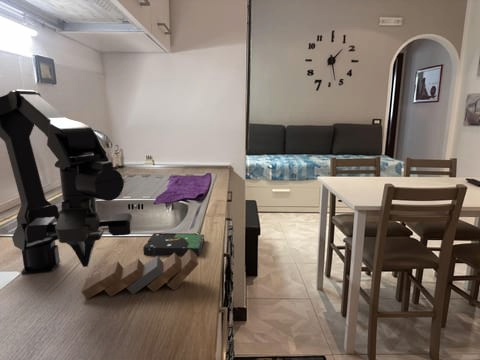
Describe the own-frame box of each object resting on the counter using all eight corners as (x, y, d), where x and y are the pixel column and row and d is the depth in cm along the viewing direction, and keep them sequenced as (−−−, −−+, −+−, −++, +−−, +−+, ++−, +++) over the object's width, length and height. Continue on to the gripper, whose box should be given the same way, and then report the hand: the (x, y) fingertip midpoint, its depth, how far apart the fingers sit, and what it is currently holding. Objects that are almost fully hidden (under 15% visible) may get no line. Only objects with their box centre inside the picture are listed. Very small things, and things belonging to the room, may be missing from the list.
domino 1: (81, 291, 67) (114, 272, 67) (86, 279, 71) (118, 261, 72) (86, 299, 67) (120, 279, 68) (92, 286, 72) (123, 268, 73)
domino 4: (147, 286, 69) (175, 262, 69) (148, 274, 74) (174, 252, 74) (153, 292, 70) (181, 269, 70) (154, 280, 75) (180, 258, 75)
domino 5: (167, 285, 70) (191, 259, 70) (167, 273, 75) (189, 249, 75) (174, 290, 71) (198, 264, 71) (174, 278, 75) (196, 254, 75)
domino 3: (126, 288, 68) (156, 266, 69) (129, 276, 73) (157, 255, 73) (132, 294, 69) (162, 273, 69) (134, 282, 74) (163, 262, 74)
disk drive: (143, 257, 87) (200, 257, 87) (142, 247, 86) (200, 247, 86) (153, 241, 97) (204, 241, 97) (153, 232, 97) (204, 232, 96)
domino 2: (104, 290, 68) (136, 269, 68) (108, 277, 72) (138, 258, 73) (110, 297, 68) (142, 276, 69) (114, 284, 73) (143, 265, 73)
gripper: (5, 206, 55) (18, 292, 59) (124, 201, 59) (129, 281, 62) (31, 189, 66) (41, 263, 69) (130, 186, 70) (135, 255, 73)
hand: (86, 265), depth 68 cm, fingers closed
